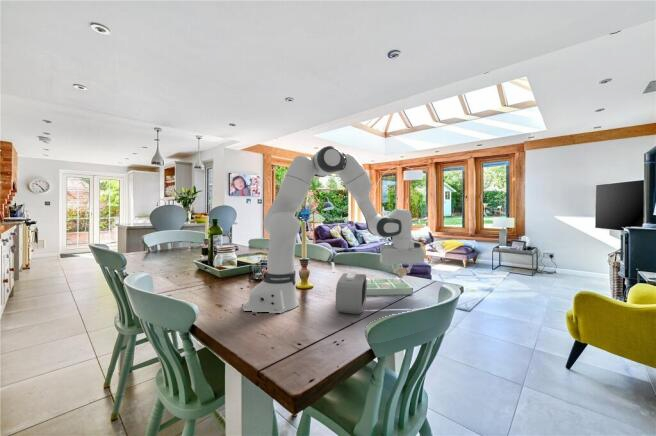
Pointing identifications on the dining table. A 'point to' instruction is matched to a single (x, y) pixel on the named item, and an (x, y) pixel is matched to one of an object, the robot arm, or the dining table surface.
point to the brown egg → (402, 271)
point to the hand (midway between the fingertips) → (401, 272)
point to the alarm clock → (351, 293)
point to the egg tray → (395, 289)
